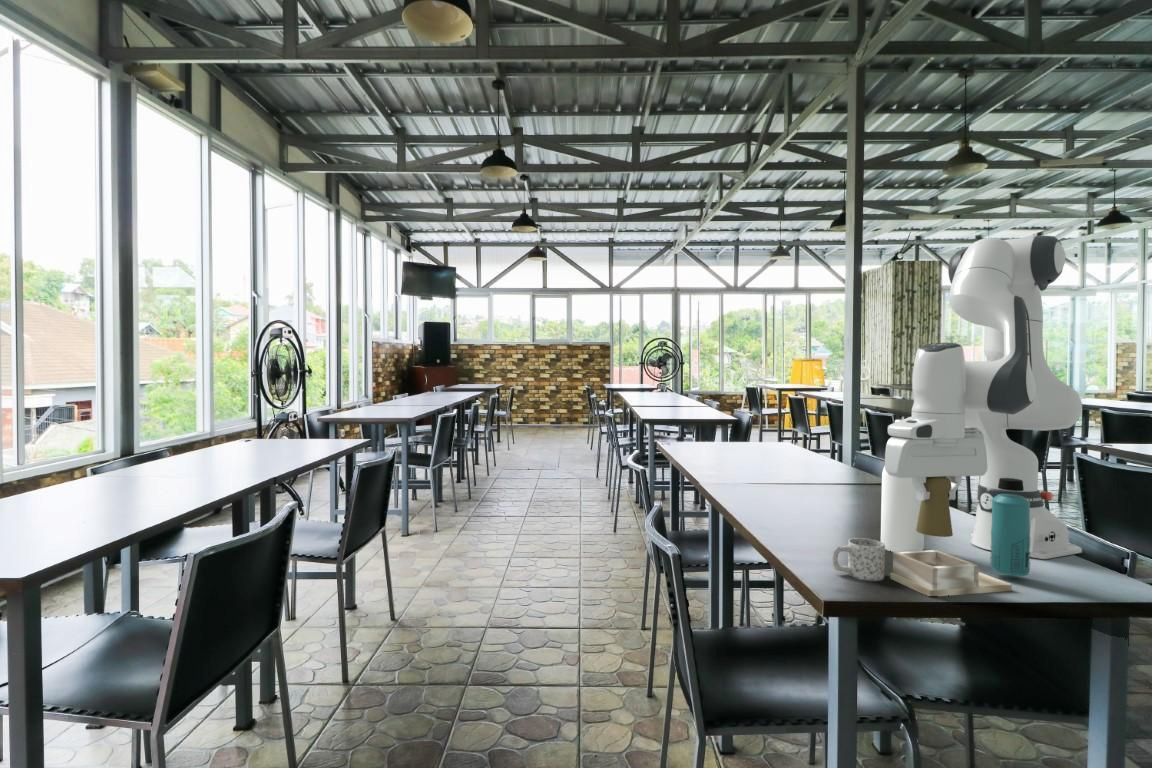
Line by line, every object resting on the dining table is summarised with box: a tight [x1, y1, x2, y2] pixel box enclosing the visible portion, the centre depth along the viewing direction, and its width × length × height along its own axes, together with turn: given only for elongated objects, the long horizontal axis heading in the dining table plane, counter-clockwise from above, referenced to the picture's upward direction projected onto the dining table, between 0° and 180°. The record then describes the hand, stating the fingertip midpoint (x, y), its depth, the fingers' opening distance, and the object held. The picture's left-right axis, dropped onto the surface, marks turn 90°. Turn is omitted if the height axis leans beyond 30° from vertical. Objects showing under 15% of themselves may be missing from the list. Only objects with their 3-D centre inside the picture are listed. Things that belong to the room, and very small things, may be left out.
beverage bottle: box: [989, 478, 1031, 577], centre depth 121 cm, size 6×7×20 cm
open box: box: [889, 549, 1013, 597], centre depth 117 cm, size 18×10×5 cm, turn 102°
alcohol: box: [880, 419, 925, 553], centre depth 140 cm, size 9×9×30 cm
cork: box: [916, 477, 954, 538], centre depth 116 cm, size 6×6×11 cm
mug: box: [832, 537, 886, 582], centre depth 122 cm, size 10×7×7 cm
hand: (935, 499), depth 116 cm, fingers closed on cork, 4 cm apart
